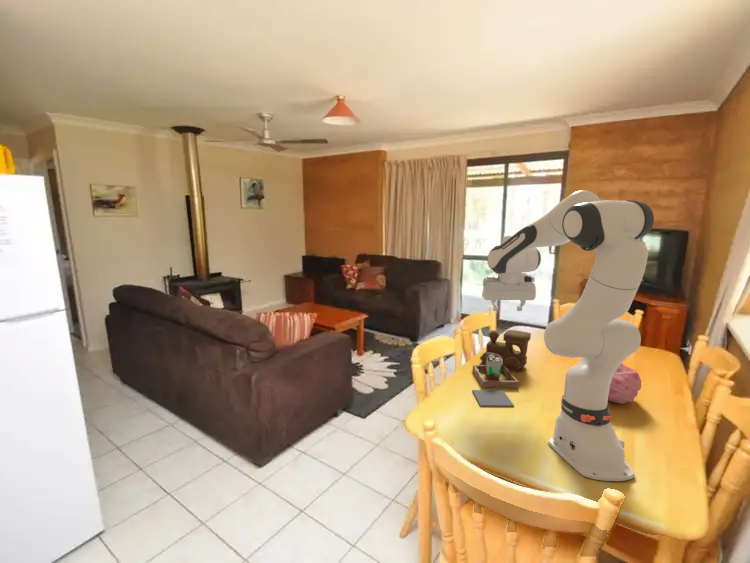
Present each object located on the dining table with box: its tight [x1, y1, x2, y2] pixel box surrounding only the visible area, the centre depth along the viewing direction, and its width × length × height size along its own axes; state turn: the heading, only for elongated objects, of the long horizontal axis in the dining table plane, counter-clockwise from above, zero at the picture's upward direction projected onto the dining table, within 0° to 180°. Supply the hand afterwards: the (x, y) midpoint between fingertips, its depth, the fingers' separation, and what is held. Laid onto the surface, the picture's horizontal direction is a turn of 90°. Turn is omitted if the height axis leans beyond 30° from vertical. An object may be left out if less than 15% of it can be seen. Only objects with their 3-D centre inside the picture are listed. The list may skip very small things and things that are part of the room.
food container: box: [485, 352, 504, 381], centre depth 152 cm, size 12×6×10 cm, turn 168°
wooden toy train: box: [479, 329, 532, 373], centre depth 166 cm, size 20×11×17 cm, turn 56°
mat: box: [471, 389, 515, 408], centre depth 136 cm, size 12×12×1 cm
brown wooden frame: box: [472, 364, 520, 390], centre depth 153 cm, size 17×14×3 cm
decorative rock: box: [608, 362, 642, 405], centre depth 133 cm, size 19×14×15 cm
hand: (507, 310), depth 145 cm, fingers open, 8 cm apart
